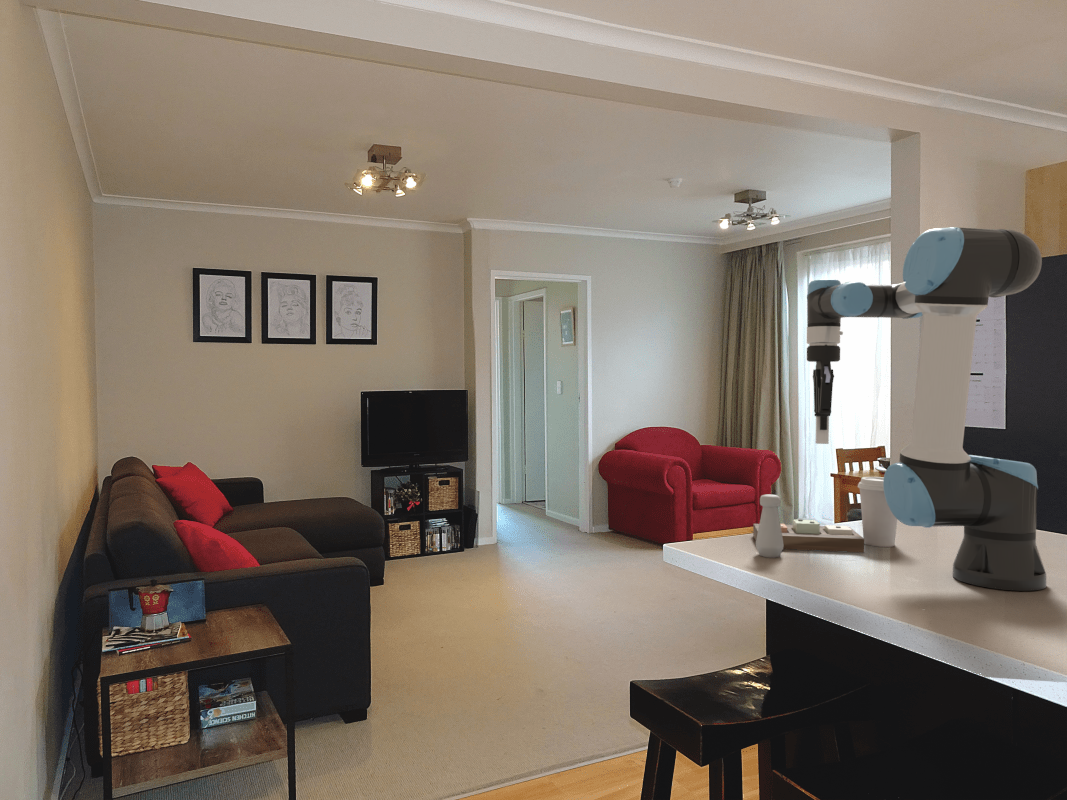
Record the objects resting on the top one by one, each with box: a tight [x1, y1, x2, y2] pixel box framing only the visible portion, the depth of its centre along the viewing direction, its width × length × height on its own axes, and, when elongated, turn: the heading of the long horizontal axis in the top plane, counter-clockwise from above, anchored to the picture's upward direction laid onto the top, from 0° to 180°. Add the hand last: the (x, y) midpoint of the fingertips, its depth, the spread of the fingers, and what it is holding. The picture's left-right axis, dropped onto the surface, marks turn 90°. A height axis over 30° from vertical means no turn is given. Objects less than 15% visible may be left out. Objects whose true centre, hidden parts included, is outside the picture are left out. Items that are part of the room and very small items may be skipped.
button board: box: [752, 523, 865, 553], centre depth 180 cm, size 14×22×3 cm, turn 80°
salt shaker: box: [755, 493, 784, 559], centre depth 168 cm, size 6×6×13 cm
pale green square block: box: [792, 519, 821, 534], centre depth 180 cm, size 5×5×3 cm
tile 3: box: [780, 523, 787, 533], centre depth 181 cm, size 5×5×3 cm
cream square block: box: [824, 524, 853, 535], centre depth 179 cm, size 5×5×3 cm
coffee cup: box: [857, 476, 898, 548], centre depth 180 cm, size 10×10×15 cm
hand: (822, 443), depth 188 cm, fingers closed
